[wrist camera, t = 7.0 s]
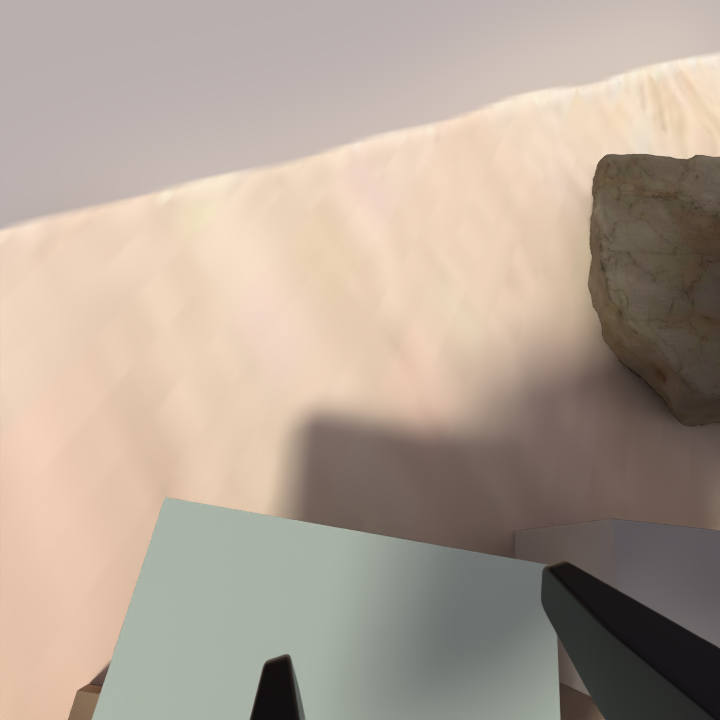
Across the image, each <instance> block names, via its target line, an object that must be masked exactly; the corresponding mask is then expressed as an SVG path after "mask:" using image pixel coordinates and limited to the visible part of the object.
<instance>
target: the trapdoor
mask: <svg viewBox="0 0 720 720" xmlns="http://www.w3.org/2000/svg"><path fill="white" fill-rule="evenodd" d="M547 565H548V564H542V563H536V562H531V561H525V560H519V559H514V558H508V557H502V556H497V555H491V554H485V553H480V552H474V551H468V550H463V549H457V548H451V547H446V546H440V545H434V544H428V543H423V542H417V541H411V540H406V539H400V538H394V537H389V536H383V535H377V534H372V533H366V532H360V531H355V530H349V529H343V528H338V527H332V526H326V525H321V524H315V523H309V522H303V521H298V520H292V519H286V518H281V517H275V516H269V515H264V514H258V513H252V512H247V511H241V510H235V509H230V508H224V507H218V506H213V505H207V504H201V503H196V502H190V501H184V500H179V499H173V498H167V497H165V499H164V502H163V505H162V508H161V511H160V514H159V517H158V520H157V523H156V526H155V529H154V532H153V535H152V538H151V541H150V544H149V547H148V550H147V553H146V556H145V559H144V562H143V566H142V569H141V572H140V575H139V578H138V581H137V584H136V587H135V590H134V593H133V596H132V599H131V602H130V605H129V608H128V611H127V614H126V617H125V620H124V623H123V626H122V629H121V632H120V635H119V638H118V641H117V644H116V647H115V650H114V653H113V656H112V660H111V663H110V666H109V669H108V672H107V675H106V678H105V681H104V684H103V687H102V690H101V693H100V696H99V699H98V702H97V705H96V708H95V711H94V714H93V717H92V720H250V716H251V712H252V708H253V704H254V700H255V696H256V692H257V688H258V684H259V680H260V676H261V672H262V668H263V665H264V663H265V662H266V661H267V660H269V659H272V658H275V657H278V656H281V655H284V654H289V655H290V656H291V659H292V663H293V667H294V670H295V674H296V678H297V681H298V685H299V689H300V694H301V699H302V704H303V709H304V714H305V719H306V720H560V696H559V670H558V645H557V634H556V632H555V630H554V628H553V626H552V624H551V623H550V621H549V619H548V617H547V615H546V613H545V611H544V609H543V606H542V603H541V583H542V570H543V568H544V567H545V566H547Z"/></svg>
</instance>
